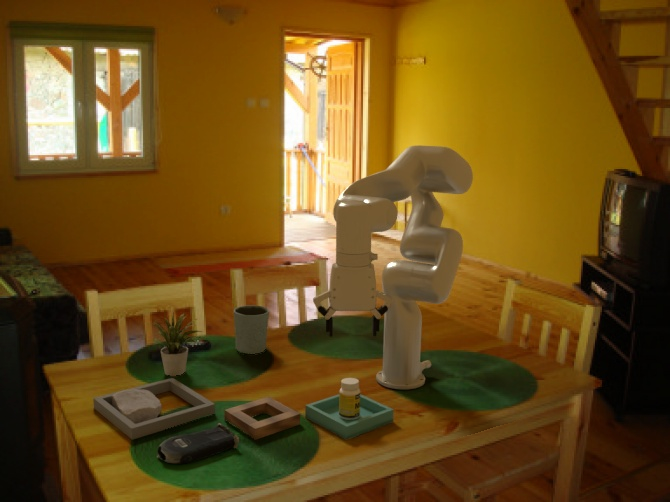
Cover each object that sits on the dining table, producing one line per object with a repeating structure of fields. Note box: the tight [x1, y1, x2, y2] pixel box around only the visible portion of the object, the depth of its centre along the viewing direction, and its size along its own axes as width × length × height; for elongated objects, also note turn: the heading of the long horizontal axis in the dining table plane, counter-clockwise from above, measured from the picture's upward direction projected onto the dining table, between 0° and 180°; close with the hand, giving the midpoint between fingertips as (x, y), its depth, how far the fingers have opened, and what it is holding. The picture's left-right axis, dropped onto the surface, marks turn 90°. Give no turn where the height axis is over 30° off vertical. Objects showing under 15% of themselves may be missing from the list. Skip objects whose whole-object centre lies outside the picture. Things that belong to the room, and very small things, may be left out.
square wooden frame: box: [224, 396, 301, 441], centre depth 155 cm, size 12×12×2 cm
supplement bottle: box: [338, 377, 361, 420], centre depth 156 cm, size 5×5×8 cm
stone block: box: [112, 388, 162, 424], centre depth 159 cm, size 12×5×10 cm
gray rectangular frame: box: [92, 377, 216, 440], centre depth 159 cm, size 20×20×2 cm
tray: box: [304, 393, 394, 441], centre depth 157 cm, size 14×14×3 cm
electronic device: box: [156, 422, 240, 465], centre depth 142 cm, size 9×6×15 cm
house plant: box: [145, 311, 204, 377], centre depth 180 cm, size 14×14×16 cm
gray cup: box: [233, 304, 270, 355], centre depth 200 cm, size 10×10×12 cm
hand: (352, 334), depth 154 cm, fingers open, 9 cm apart
